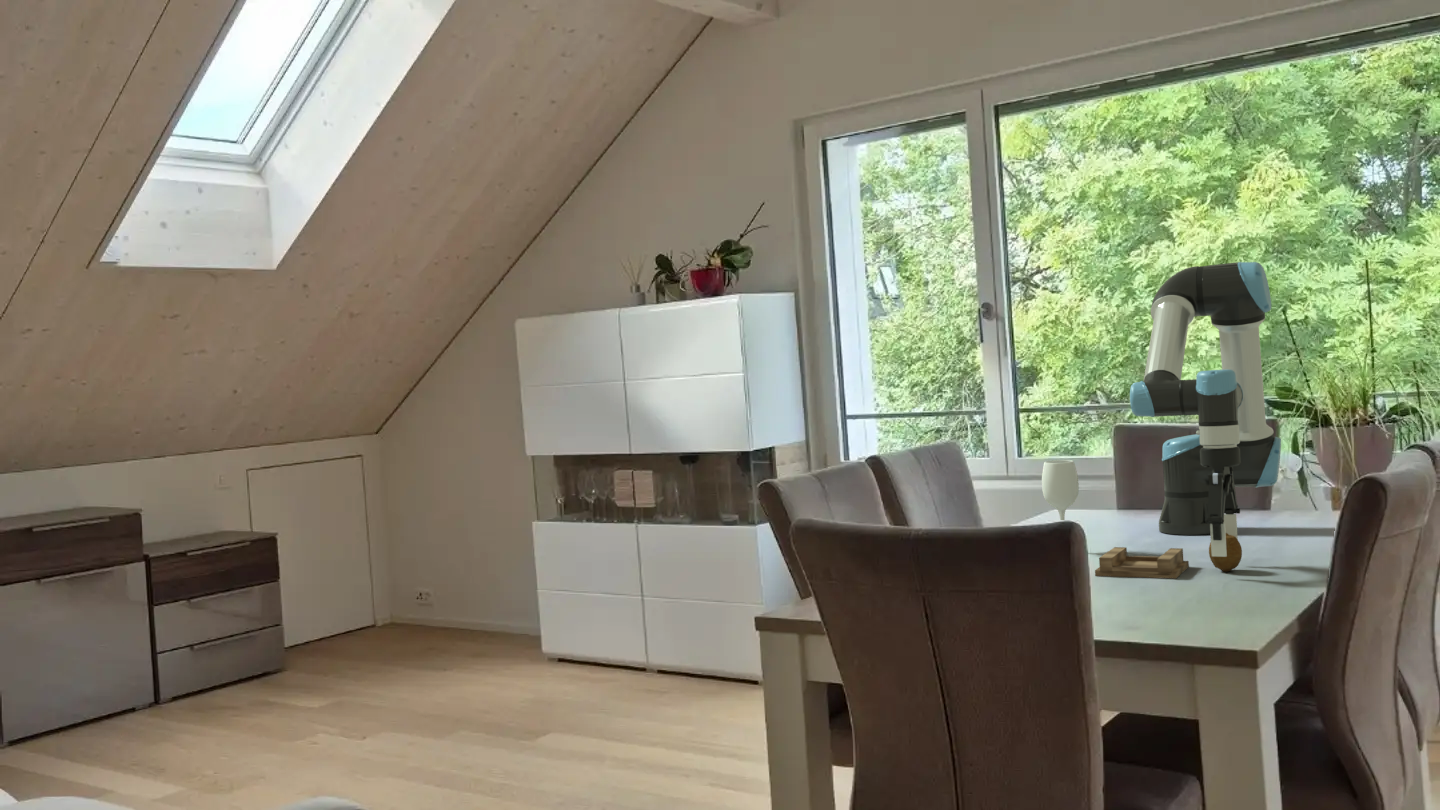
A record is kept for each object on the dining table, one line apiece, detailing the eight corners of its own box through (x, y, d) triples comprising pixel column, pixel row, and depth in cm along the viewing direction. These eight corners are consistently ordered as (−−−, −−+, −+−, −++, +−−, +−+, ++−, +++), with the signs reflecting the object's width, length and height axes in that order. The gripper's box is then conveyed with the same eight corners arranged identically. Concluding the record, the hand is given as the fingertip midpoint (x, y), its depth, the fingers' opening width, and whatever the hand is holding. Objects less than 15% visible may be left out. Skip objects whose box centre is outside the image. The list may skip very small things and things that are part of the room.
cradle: (1110, 564, 269) (1109, 547, 269) (1188, 566, 260) (1187, 548, 260) (1095, 576, 258) (1094, 557, 258) (1176, 578, 249) (1175, 559, 249)
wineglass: (1085, 554, 283) (1079, 462, 282) (1045, 555, 285) (1040, 464, 284) (1082, 548, 291) (1076, 458, 290) (1043, 549, 293) (1038, 460, 292)
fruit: (1203, 571, 255) (1201, 532, 254) (1226, 567, 257) (1224, 528, 257) (1226, 575, 249) (1224, 535, 248) (1250, 571, 251) (1247, 532, 251)
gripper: (1211, 441, 264) (1216, 541, 265) (1187, 452, 243) (1193, 560, 244) (1249, 440, 261) (1254, 541, 261) (1229, 451, 239) (1234, 561, 240)
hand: (1225, 551), depth 252 cm, fingers open, 13 cm apart
